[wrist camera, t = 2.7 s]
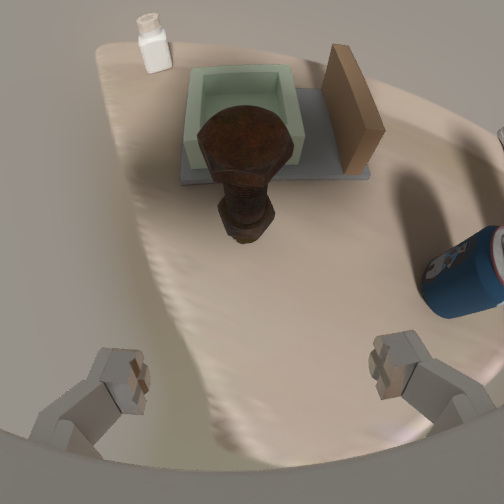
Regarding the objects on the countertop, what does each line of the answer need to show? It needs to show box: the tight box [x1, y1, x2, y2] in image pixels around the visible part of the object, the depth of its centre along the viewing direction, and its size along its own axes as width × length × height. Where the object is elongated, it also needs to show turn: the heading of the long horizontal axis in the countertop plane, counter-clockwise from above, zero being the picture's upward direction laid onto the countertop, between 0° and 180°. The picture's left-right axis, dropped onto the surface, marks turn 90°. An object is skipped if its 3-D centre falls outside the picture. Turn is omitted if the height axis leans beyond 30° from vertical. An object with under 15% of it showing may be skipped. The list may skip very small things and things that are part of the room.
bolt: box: [197, 105, 294, 244], centre depth 24 cm, size 6×5×15 cm
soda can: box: [422, 225, 504, 319], centre depth 24 cm, size 7×7×12 cm
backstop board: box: [180, 44, 385, 185], centre depth 31 cm, size 21×14×9 cm, turn 93°
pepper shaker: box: [136, 13, 172, 74], centre depth 35 cm, size 4×4×10 cm
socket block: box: [183, 65, 305, 169], centre depth 31 cm, size 12×12×5 cm
